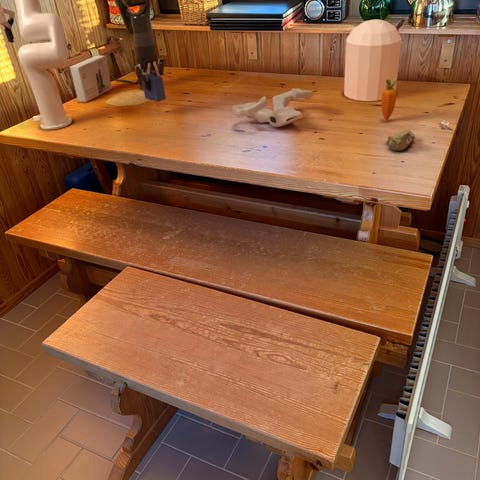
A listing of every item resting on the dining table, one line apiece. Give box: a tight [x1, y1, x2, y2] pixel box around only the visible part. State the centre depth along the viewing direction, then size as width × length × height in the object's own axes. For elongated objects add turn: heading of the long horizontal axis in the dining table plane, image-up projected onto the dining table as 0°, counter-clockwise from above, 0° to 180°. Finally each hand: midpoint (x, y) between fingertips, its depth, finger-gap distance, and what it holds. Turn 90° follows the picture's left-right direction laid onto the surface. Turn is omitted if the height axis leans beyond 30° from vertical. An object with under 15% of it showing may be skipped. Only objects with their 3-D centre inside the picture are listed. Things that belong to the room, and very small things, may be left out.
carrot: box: [380, 78, 398, 122], centre depth 161 cm, size 5×5×15 cm
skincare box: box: [69, 54, 113, 103], centre depth 218 cm, size 21×6×16 cm, turn 158°
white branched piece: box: [231, 88, 314, 128], centre depth 171 cm, size 28×26×12 cm
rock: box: [387, 129, 416, 152], centre depth 146 cm, size 11×6×10 cm
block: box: [142, 74, 167, 103], centre depth 185 cm, size 4×9×9 cm, turn 45°
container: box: [343, 18, 402, 102], centre depth 184 cm, size 21×21×28 cm
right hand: (153, 88), depth 185 cm, fingers closed on block, 4 cm apart
